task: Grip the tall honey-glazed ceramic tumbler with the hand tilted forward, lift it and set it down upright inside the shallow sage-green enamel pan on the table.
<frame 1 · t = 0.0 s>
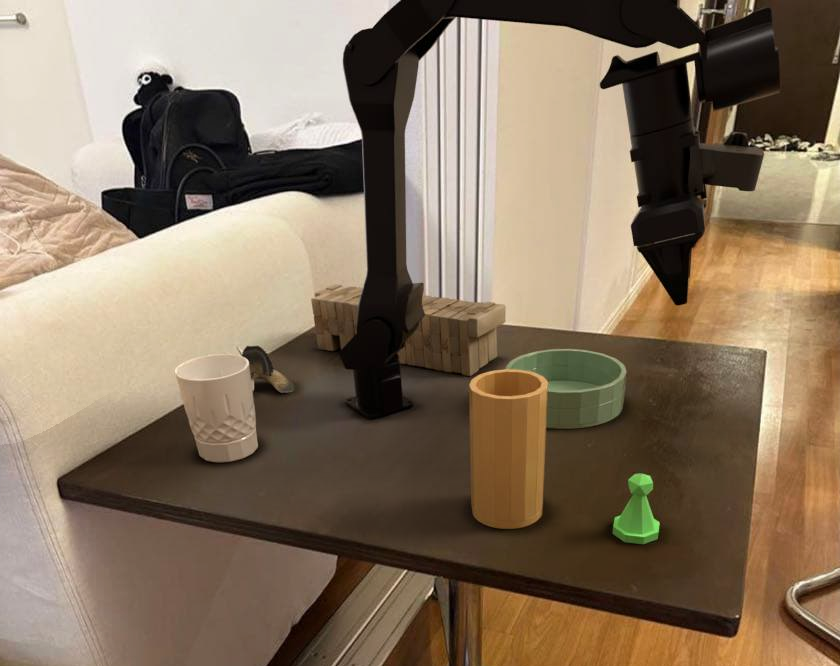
hand: (683, 291, 81), 15 cm above the table, tool pointing down, fingers open, 9 cm apart
game piece: (635, 533, 72), on the table
block tower: (403, 355, 115), on the table
white cup: (229, 451, 91), on the table
pan: (563, 404, 97), on the table
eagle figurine: (259, 391, 106), on the table
tumbler: (507, 510, 76), on the table
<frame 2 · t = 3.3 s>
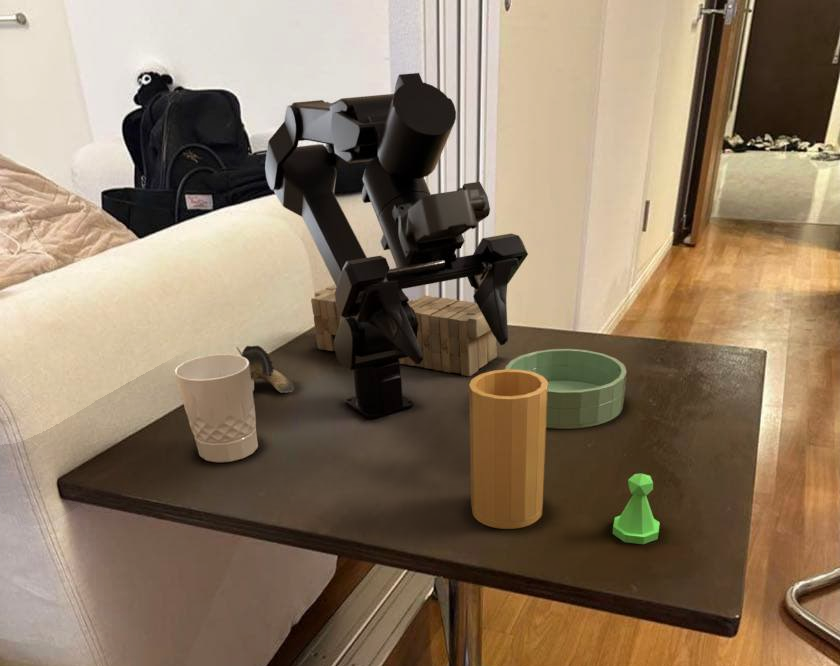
hand: (463, 352, 75), 13 cm above the table, tool tilted 45°, fingers open, 9 cm apart
nothing on the table moved.
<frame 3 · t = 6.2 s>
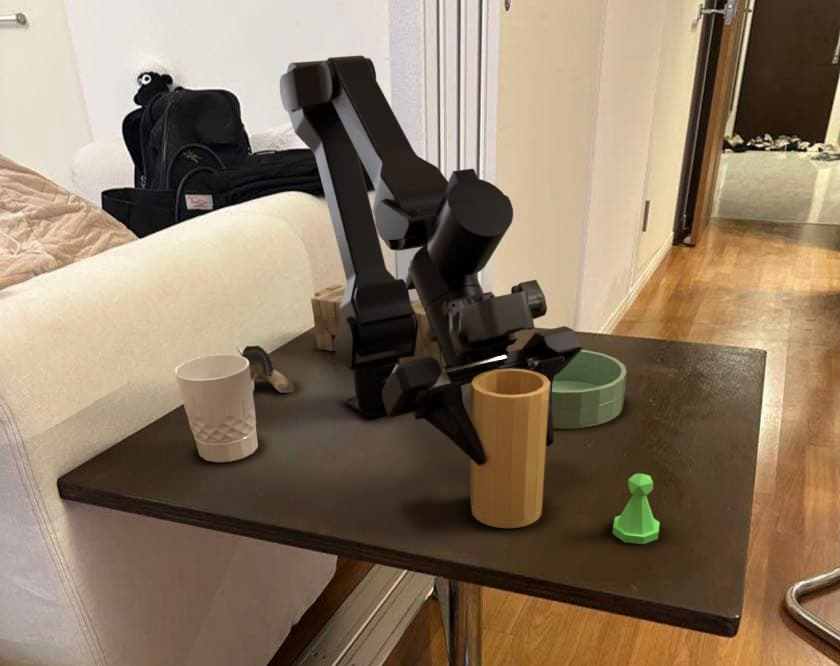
hand: (516, 454, 71), 7 cm above the table, tool tilted 45°, fingers closed on tumbler, 7 cm apart
tumbler: (506, 510, 76), on the table, touching gripper
everything else where it was.
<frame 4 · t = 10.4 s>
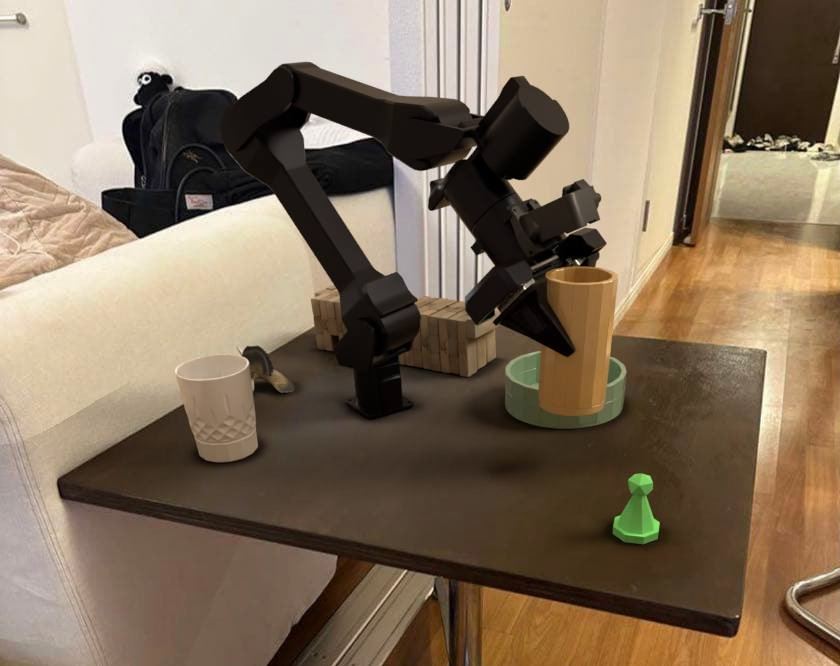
hand: (588, 343, 78), 13 cm above the table, tool tilted 45°, fingers closed on tumbler, 7 cm apart
tumbler: (571, 403, 82), point 6 cm above the table, touching gripper
everything else where it was.
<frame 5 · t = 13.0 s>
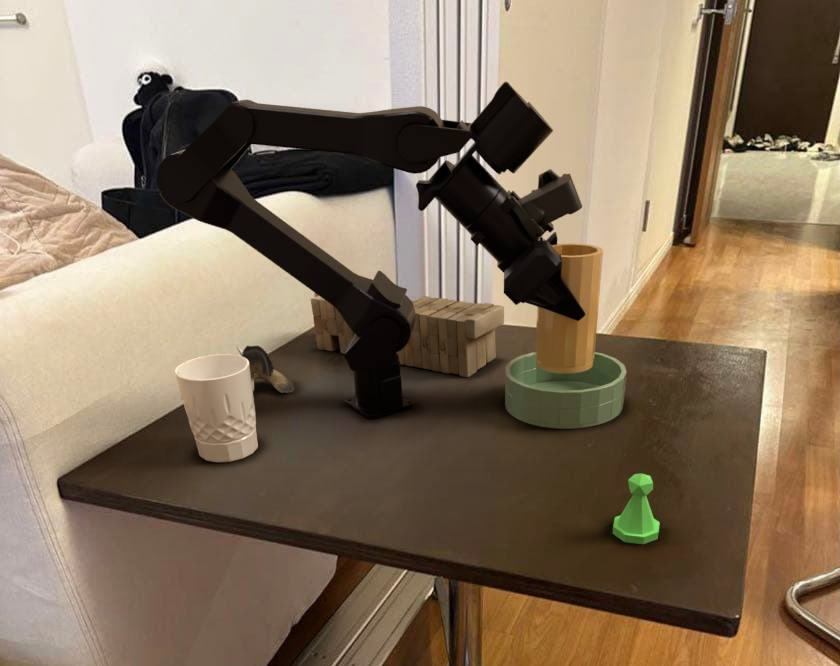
hand: (579, 308, 90), 12 cm above the table, tool tilted 45°, fingers closed on tumbler, 7 cm apart
tumbler: (564, 363, 94), point 5 cm above the table, touching gripper
everything else where it was.
when the fingers open (7 cm above the table, at t = 14.9 s): tumbler stays where it is, resting on pan.
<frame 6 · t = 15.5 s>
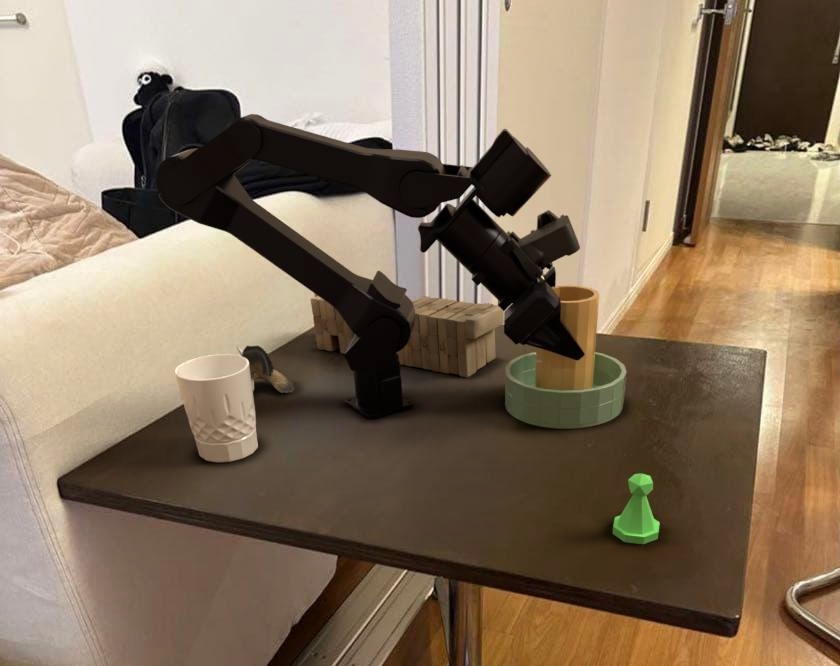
hand: (578, 343, 92), 8 cm above the table, tool tilted 45°, fingers open, 9 cm apart
tumbler: (562, 400, 96), resting on pan
everything else where it was.
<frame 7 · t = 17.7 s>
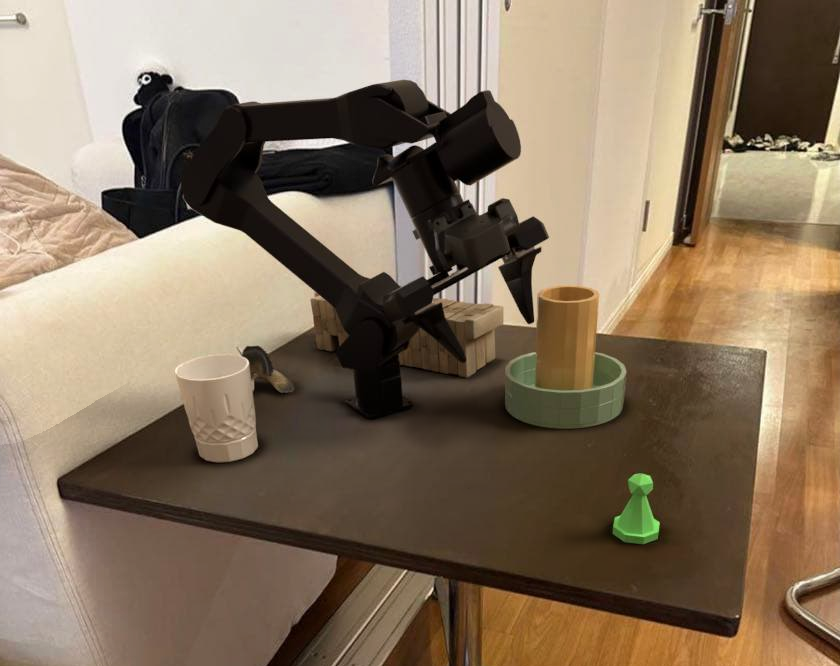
hand: (498, 342, 87), 10 cm above the table, tool tilted 25°, fingers open, 9 cm apart
nothing on the table moved.
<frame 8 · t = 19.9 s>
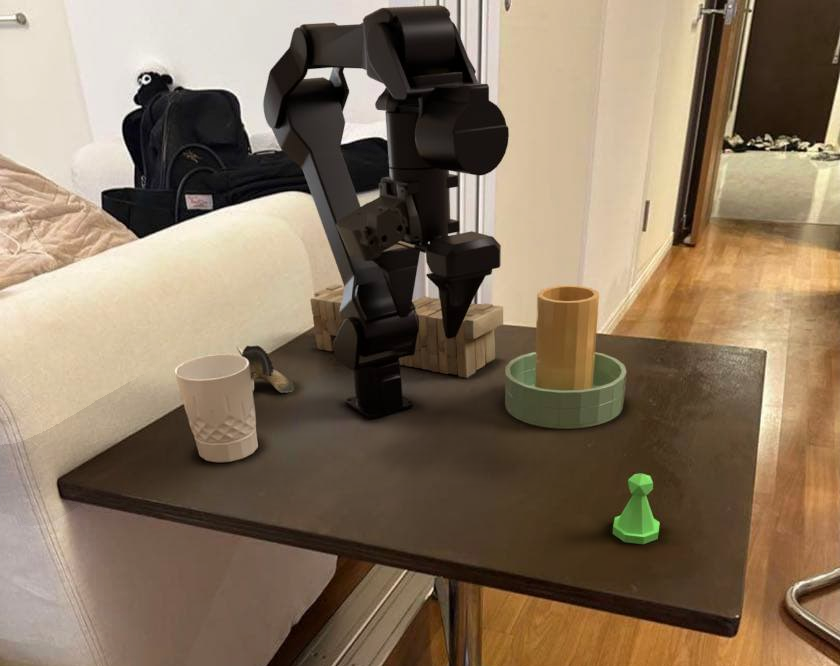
hand: (426, 326, 83), 13 cm above the table, tool pointing down, fingers open, 9 cm apart
nothing on the table moved.
at the end: tumbler 0.2 cm off-centre in the pan, point 0.5 cm above the pan's base; tumbler tilted 0°; the gripper is holding nothing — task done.
